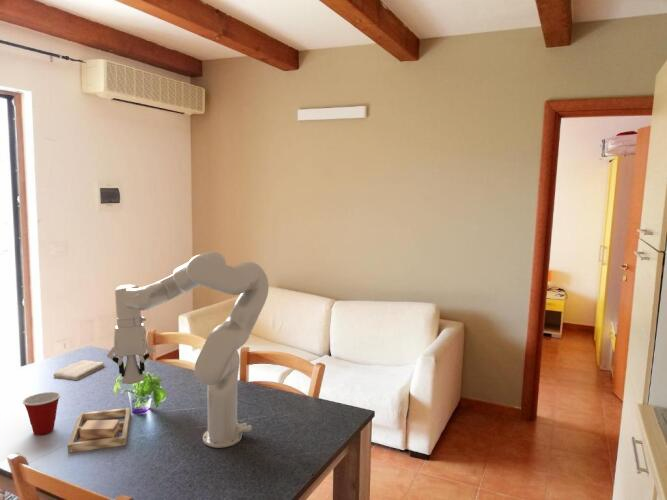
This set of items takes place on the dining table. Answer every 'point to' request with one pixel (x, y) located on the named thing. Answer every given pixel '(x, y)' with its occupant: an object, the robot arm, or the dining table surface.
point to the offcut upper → (99, 429)
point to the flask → (131, 371)
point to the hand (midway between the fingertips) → (132, 373)
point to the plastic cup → (42, 411)
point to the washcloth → (78, 370)
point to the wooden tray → (99, 443)
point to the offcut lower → (96, 438)
